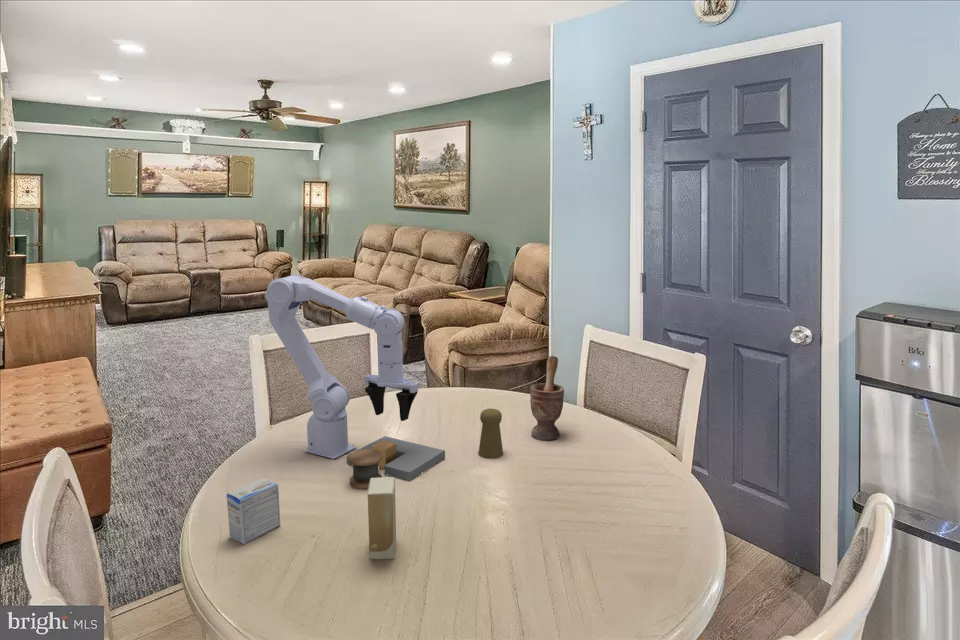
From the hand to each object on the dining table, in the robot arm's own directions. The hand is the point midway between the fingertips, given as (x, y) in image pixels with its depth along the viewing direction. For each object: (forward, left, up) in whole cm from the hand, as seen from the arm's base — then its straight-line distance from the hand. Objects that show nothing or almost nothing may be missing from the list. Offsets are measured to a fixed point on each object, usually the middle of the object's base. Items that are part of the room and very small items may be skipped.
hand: (391, 416), depth 143 cm
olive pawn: (+20, +12, -10) cm, 26 cm away
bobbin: (+4, -15, -9) cm, 18 cm away
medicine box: (0, -41, -10) cm, 42 cm away
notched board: (+3, -3, -9) cm, 10 cm away
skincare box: (+24, -34, -10) cm, 43 cm away
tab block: (+2, -6, -10) cm, 11 cm away
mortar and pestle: (+26, +31, -10) cm, 42 cm away
